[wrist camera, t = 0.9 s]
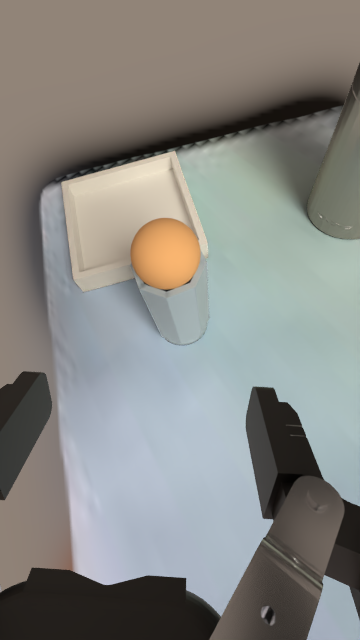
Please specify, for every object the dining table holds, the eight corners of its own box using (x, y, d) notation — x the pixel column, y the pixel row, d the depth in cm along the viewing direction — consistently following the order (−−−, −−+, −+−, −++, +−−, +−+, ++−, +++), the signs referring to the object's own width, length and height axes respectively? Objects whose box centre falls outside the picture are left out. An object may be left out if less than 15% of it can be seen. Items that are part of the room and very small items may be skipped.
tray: (70, 198, 44) (61, 182, 41) (177, 169, 44) (174, 151, 41) (83, 292, 38) (73, 280, 35) (208, 258, 38) (207, 243, 35)
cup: (196, 293, 36) (188, 224, 25) (215, 334, 34) (216, 279, 23) (151, 310, 36) (123, 249, 25) (168, 353, 34) (145, 306, 23)
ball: (166, 237, 27) (155, 190, 22) (214, 266, 25) (214, 222, 20) (126, 279, 25) (106, 240, 21) (174, 313, 24) (164, 279, 19)
